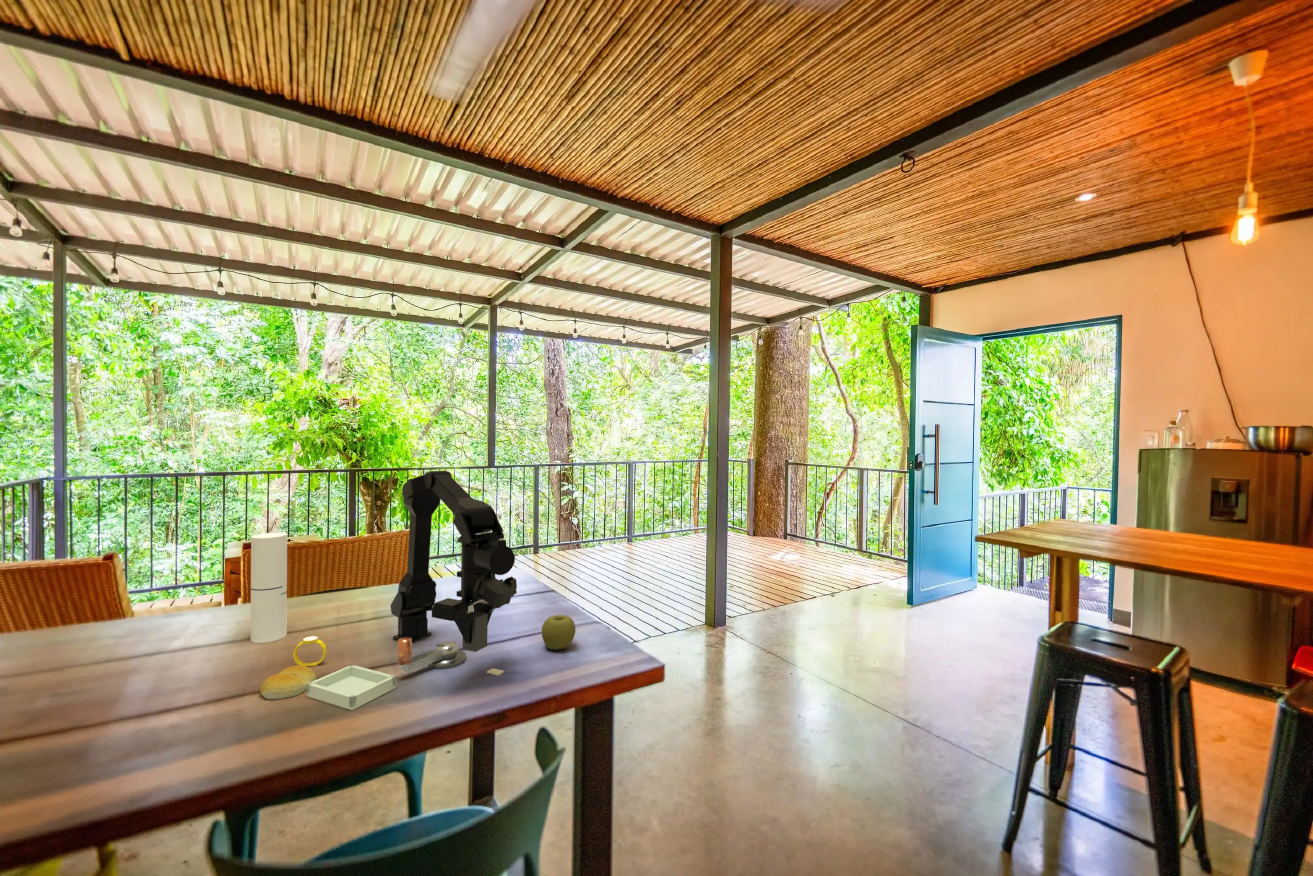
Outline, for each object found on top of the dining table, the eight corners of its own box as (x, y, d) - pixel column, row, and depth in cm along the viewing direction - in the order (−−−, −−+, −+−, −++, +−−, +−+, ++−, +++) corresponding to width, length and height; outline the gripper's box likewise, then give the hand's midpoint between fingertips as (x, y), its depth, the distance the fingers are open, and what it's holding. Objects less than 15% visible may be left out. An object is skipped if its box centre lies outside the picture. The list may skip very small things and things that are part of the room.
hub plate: (418, 664, 118) (418, 660, 118) (446, 651, 126) (446, 647, 126) (446, 671, 115) (447, 667, 115) (473, 657, 123) (473, 653, 123)
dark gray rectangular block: (462, 649, 113) (462, 615, 113) (474, 643, 116) (474, 610, 116) (475, 652, 112) (476, 618, 112) (487, 646, 115) (487, 613, 115)
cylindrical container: (243, 640, 131) (244, 536, 130) (274, 630, 137) (274, 531, 137) (263, 645, 128) (263, 539, 128) (293, 634, 135) (293, 534, 134)
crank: (449, 649, 124) (449, 620, 123) (461, 654, 121) (461, 624, 121) (392, 671, 112) (392, 639, 112) (404, 676, 110) (405, 643, 110)
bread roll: (250, 699, 103) (250, 678, 103) (290, 678, 112) (290, 659, 112) (287, 703, 101) (287, 682, 101) (325, 682, 110) (325, 662, 110)
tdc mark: (486, 673, 115) (486, 671, 115) (492, 669, 117) (492, 668, 117) (498, 675, 114) (498, 674, 114) (503, 672, 115) (503, 671, 115)
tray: (352, 710, 99) (352, 697, 99) (306, 696, 104) (306, 684, 104) (396, 687, 108) (396, 676, 108) (352, 675, 113) (352, 664, 113)
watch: (326, 662, 120) (329, 635, 120) (322, 668, 117) (325, 640, 117) (295, 663, 118) (298, 636, 118) (290, 668, 115) (293, 640, 115)
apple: (568, 655, 124) (568, 624, 124) (535, 652, 126) (536, 621, 126) (579, 643, 132) (580, 613, 132) (548, 640, 134) (549, 611, 133)
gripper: (474, 581, 102) (473, 664, 102) (534, 560, 119) (533, 631, 119) (429, 574, 107) (429, 654, 107) (493, 555, 124) (493, 623, 124)
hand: (474, 640), depth 114 cm, fingers closed on dark gray rectangular block, 3 cm apart
